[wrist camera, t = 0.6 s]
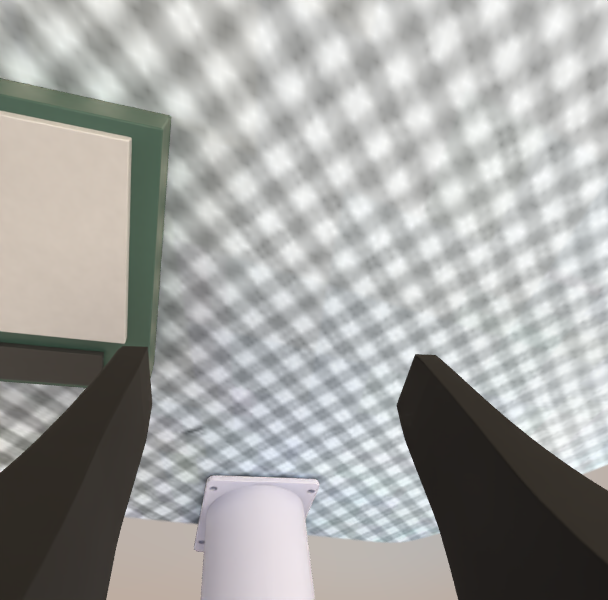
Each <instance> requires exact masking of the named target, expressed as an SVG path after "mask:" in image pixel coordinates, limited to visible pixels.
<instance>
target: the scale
mask: <svg viewBox="0 0 608 600" xmlns="http://www.w3.org/2000/svg"><path fill="white" fill-rule="evenodd" d="M170 128H171V116H169V115H164V114H160V113H155V112H151V111H146V110H142V109H137V108H133V107H128V106H124V105H119V104H114V103H110V102H105V101H101V100H96V99H92V98H87V97H83V96H78V95H74V94H69V93H65V92H60V91H56V90H51V89H46V88H42V87H37V86H33V85H28V84H24V83H19V82H15V81H10V80H6V79H1V78H0V381H4V382H17V383H30V384H43V385H56V386H69V387H82V388H87V387H88V386H89V385H90V384H91V382H92V381H93V380H94V379H95V378H96V376H97V375H98V374H99V373H100V372H101V370H102V369H103V368H104V367H105V366H106V364H107V363H108V362H109V360H110V359H111V358H112V357H113V355H114V354H115V353H116V351H117V350H118V349H119V348H121V347H122V346H142V347H148V354H149V368H150V378H151V374H152V370H153V366H154V357H155V343H156V329H157V314H158V300H159V286H160V271H161V257H162V242H163V228H164V214H165V199H166V185H167V171H168V156H169V142H170Z"/></svg>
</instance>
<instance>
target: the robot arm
mask: <svg viewBox="0 0 608 600" xmlns="http://www.w3.org/2000/svg"><path fill="white" fill-rule="evenodd" d="M151 408H152V394H151V381H150V368H149V354H148V347H142V346H122V347H121V348H119V349H118V350H117V351H116V353H115V354H114V355H113V357H112V358H111V359H110V360H109V362H108V363H107V364H106V366H105V367H104V368H103V369H102V370H101V372H100V373H99V374H98V375H97V376H96V378H95V379H94V380H93V381H92V382H91V384H90V385H89V386H88V387H87V388H86V389H85V390H84V391H83V393H82V394H81V395H80V396H79V397H78V398H77V399H76V400H75V401H74V403H73V404H72V405H71V406H70V407H69V408H68V409H67V410H66V411H65V412H64V413H63V414H62V415H61V416H60V417H59V418H58V419H57V420H56V421H55V422H54V423H53V424H52V425H51V426H50V427H49V428H48V429H47V430H46V431H45V432H44V433H43V434H42V435H41V436H40V437H39V438H38V439H37V440H36V441H35V442H34V443H33V444H32V445H31V446H30V447H29V448H28V449H27V450H26V451H25V452H23V453H22V454H21V455H20V456H19V457H18V458H17V459H16V460H15V461H13V462H12V463H11V464H10V465H9V466H8V467H7V468H5V469H4V470H3V471H2V472H1V473H0V600H106V597H107V591H108V586H109V581H110V576H111V571H112V566H113V561H114V556H115V550H116V546H117V542H118V538H119V534H120V530H121V526H122V522H123V519H124V515H125V512H126V509H127V505H128V502H129V498H130V495H131V491H132V488H133V485H134V481H135V478H136V474H137V471H138V467H139V464H140V460H141V457H142V453H143V450H144V446H145V443H146V438H147V432H148V426H149V420H150V414H151ZM397 409H398V413H399V418H400V422H401V426H402V430H403V434H404V438H405V441H406V444H407V446H408V449H409V452H410V454H411V457H412V459H413V462H414V465H415V467H416V470H417V472H418V475H419V477H420V480H421V482H422V485H423V488H424V490H425V493H426V495H427V498H428V500H429V503H430V505H431V508H432V511H433V513H434V516H435V519H436V522H437V525H438V527H439V530H440V534H441V537H442V541H443V544H444V548H445V551H446V555H447V558H448V562H449V565H450V569H451V573H452V577H453V581H454V585H455V589H456V593H457V596H458V600H608V491H607V490H606V489H604V488H602V487H601V486H599V485H597V484H596V483H594V482H593V481H591V480H590V479H588V478H586V477H585V476H584V475H582V474H580V473H579V472H577V471H576V470H574V469H573V468H572V467H570V466H569V465H567V464H566V463H564V462H563V461H562V460H560V459H559V458H557V457H556V456H555V455H553V454H552V453H550V452H549V451H548V450H546V449H545V448H544V447H542V446H541V445H540V444H538V443H537V442H536V441H534V440H533V439H532V438H530V437H529V436H528V435H527V434H526V433H524V432H523V431H522V430H521V429H519V428H518V427H517V426H516V425H514V424H513V423H512V422H511V421H510V420H508V419H507V418H506V417H505V416H504V415H502V414H501V413H500V412H499V411H498V410H497V409H495V408H494V407H493V406H492V405H491V404H490V403H489V402H488V401H486V400H485V399H484V398H483V397H482V396H481V395H480V394H479V393H478V392H476V391H475V390H474V389H473V388H472V387H471V386H470V385H469V384H468V383H467V382H465V381H464V380H463V379H462V378H461V377H460V376H459V375H458V374H457V373H456V372H454V371H453V370H452V369H451V368H450V367H449V366H448V365H447V364H446V363H444V362H443V361H442V360H441V359H440V358H439V357H437V356H436V355H420V354H415V356H414V359H413V362H412V365H411V367H410V370H409V373H408V376H407V378H406V381H405V384H404V387H403V389H402V392H401V395H400V397H399V400H398V403H397ZM318 489H319V482H318V480H316V479H304V478H276V477H248V476H220V475H213V476H210V477H209V478H208V479H207V482H206V487H205V492H204V498H203V503H202V508H201V513H200V518H199V523H198V529H197V534H196V539H195V544H194V550H196V551H198V552H204V560H203V575H202V589H201V600H315V594H314V586H313V578H312V570H311V562H310V554H309V546H308V538H307V530H306V522H305V519H306V517H307V514H308V512H309V510H310V507H311V505H312V503H313V500H314V498H315V496H316V493H317V491H318Z"/></svg>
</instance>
